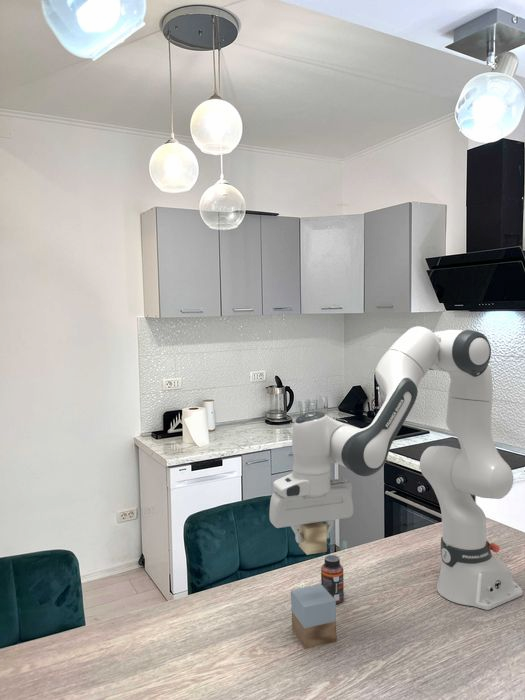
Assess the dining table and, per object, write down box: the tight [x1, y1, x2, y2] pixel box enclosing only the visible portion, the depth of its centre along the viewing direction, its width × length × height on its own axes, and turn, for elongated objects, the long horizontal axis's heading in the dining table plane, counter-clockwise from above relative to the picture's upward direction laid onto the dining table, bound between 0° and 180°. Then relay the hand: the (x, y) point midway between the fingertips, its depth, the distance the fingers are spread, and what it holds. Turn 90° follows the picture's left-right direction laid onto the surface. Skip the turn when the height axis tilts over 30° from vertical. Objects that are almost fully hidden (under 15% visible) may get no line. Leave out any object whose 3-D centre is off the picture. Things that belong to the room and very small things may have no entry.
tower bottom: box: [291, 611, 338, 650], centre depth 123 cm, size 8×8×5 cm
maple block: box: [298, 521, 328, 556], centre depth 121 cm, size 5×5×6 cm
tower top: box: [290, 583, 337, 628], centre depth 123 cm, size 8×8×5 cm
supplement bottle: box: [320, 554, 345, 605], centre depth 138 cm, size 6×6×11 cm
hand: (312, 539), depth 122 cm, fingers closed on maple block, 5 cm apart
